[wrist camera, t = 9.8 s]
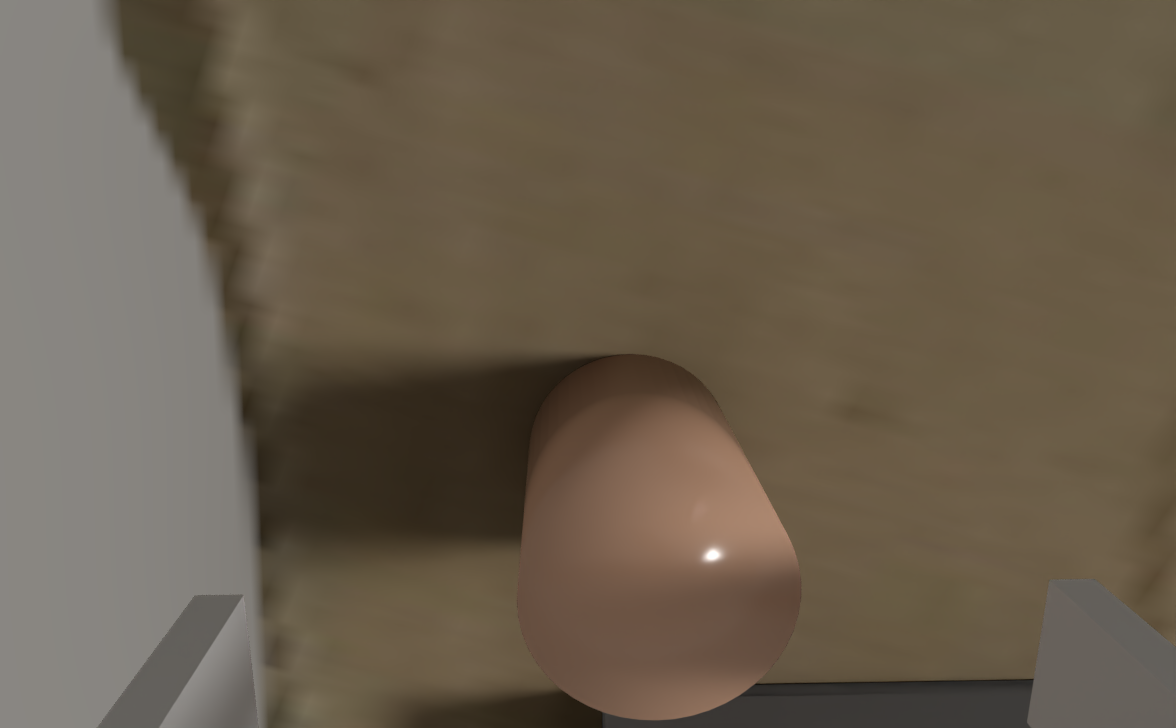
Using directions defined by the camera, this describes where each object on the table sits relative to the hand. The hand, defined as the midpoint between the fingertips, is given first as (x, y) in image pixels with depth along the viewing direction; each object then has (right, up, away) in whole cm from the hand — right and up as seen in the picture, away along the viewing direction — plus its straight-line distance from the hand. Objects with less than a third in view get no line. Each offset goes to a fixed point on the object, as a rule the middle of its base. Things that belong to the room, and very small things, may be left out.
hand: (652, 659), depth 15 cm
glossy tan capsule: (0, +3, +8) cm, 8 cm away
